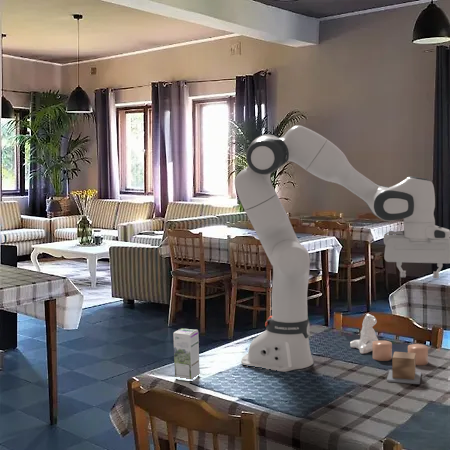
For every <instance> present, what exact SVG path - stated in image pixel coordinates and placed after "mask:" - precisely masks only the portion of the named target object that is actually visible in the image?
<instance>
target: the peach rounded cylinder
mask: <svg viewBox="0 0 450 450" xmlns="http://www.w3.org/2000/svg"><path fill="white" fill-rule="evenodd" d="M407 352H408V353H416V360H415V366H425V365H426V366H427V365H428V363H429V347H428V346H427V345H425V344H421V343H414V344H413V343H412V344H409V345H407Z"/></svg>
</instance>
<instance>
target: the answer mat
mask: <svg viewBox="0 0 450 450" xmlns="http://www.w3.org/2000/svg"><path fill="white" fill-rule="evenodd" d="M421 377H422V372H421V371H415V378H414V380H413V379H401V378H392V369H389V371H388V374H387V377H386V382H388V383H389V382H390V383H398V384H399V383H401V384H411V385H412V384H413V385H420V383H421Z"/></svg>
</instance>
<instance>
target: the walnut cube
mask: <svg viewBox="0 0 450 450" xmlns="http://www.w3.org/2000/svg"><path fill="white" fill-rule="evenodd" d="M391 360H392V366H391V368H392V369H391V370H392V378H401V379H413V380H414V378H415V372H416V365H415V360H416V353H408V351H407V352H405V351H393V353H392V359H391Z"/></svg>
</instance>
